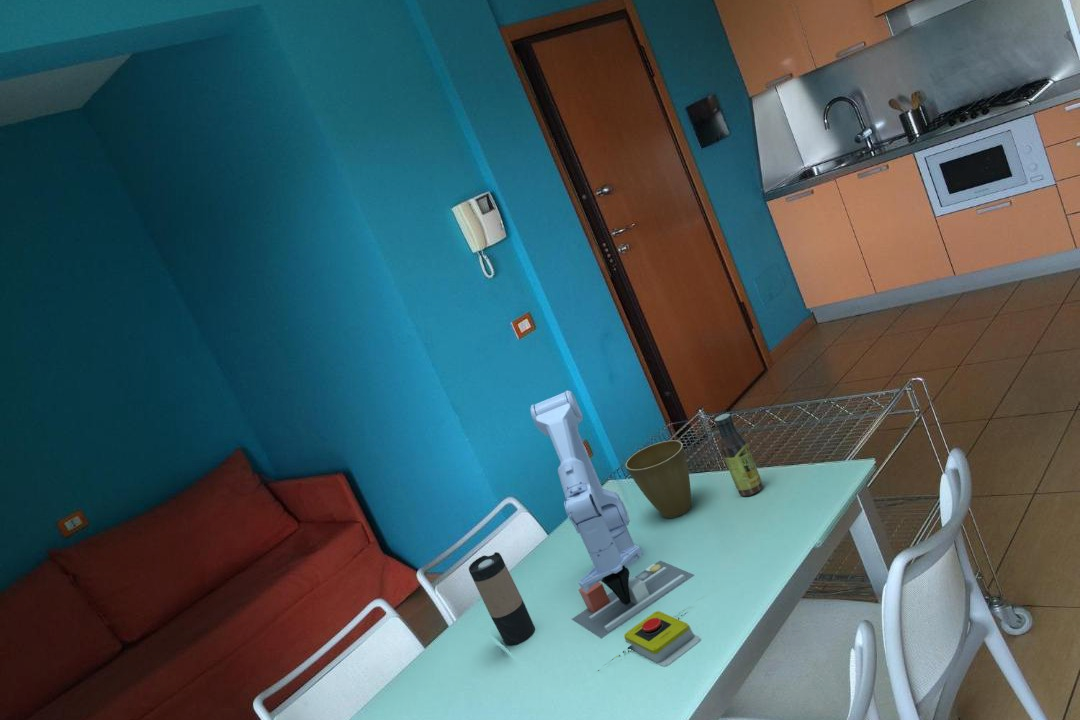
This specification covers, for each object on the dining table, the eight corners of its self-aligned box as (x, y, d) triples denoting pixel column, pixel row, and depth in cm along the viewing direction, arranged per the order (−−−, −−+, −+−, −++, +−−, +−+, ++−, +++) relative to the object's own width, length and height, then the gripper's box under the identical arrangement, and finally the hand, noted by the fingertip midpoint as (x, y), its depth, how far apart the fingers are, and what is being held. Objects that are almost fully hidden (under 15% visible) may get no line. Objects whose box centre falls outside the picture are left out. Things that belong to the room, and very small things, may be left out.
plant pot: (644, 532, 224) (618, 474, 221) (657, 503, 237) (633, 449, 235) (700, 518, 218) (675, 459, 215) (711, 490, 231) (687, 434, 228)
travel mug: (515, 656, 193) (476, 575, 189) (501, 646, 200) (462, 567, 196) (544, 635, 196) (506, 555, 192) (529, 626, 203) (492, 549, 199)
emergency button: (651, 602, 182) (695, 621, 168) (659, 621, 183) (704, 641, 169) (615, 628, 178) (657, 649, 165) (623, 647, 179) (666, 670, 165)
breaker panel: (574, 625, 195) (569, 615, 194) (662, 566, 203) (658, 556, 203) (604, 644, 182) (599, 634, 181) (697, 581, 190) (692, 570, 190)
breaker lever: (629, 600, 192) (621, 584, 191) (640, 592, 193) (633, 576, 192) (639, 605, 188) (631, 589, 187) (650, 598, 189) (643, 581, 188)
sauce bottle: (759, 495, 216) (728, 421, 212) (735, 499, 220) (705, 426, 216) (767, 482, 221) (737, 409, 218) (744, 485, 225) (714, 414, 221)
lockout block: (587, 609, 195) (578, 589, 195) (602, 599, 197) (593, 579, 196) (596, 614, 192) (586, 594, 191) (611, 604, 193) (602, 584, 192)
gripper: (579, 568, 180) (606, 626, 183) (638, 531, 185) (663, 588, 188) (565, 560, 187) (591, 617, 189) (622, 524, 192) (646, 580, 194)
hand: (626, 602), depth 189 cm, fingers closed
